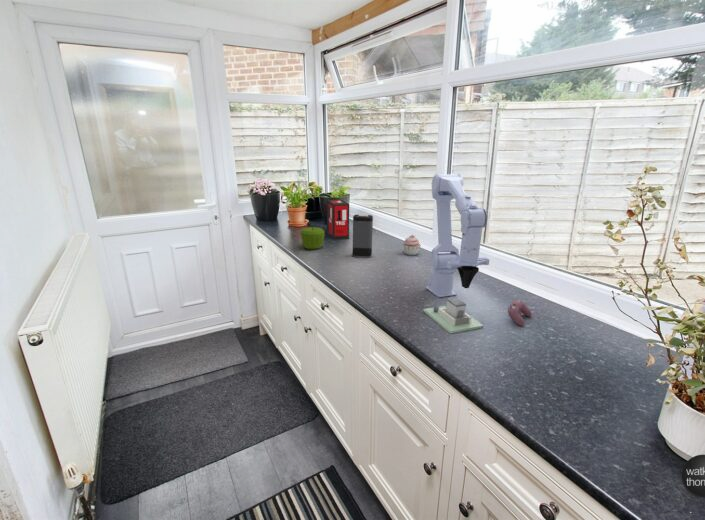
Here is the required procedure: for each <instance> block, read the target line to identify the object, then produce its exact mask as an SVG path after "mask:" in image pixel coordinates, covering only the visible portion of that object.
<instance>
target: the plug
mask: <svg viewBox="0 0 705 520" xmlns="http://www.w3.org/2000/svg"><path fill="white" fill-rule="evenodd" d="M466 305H467V304H466V302H464V301H462V300H461V299H459V298H458V297H453V298H452V297H451V298H447V299H446V305H445V306H446V313H448V314H449V315H450V316H452V317H453V318H460V317H464V315H465V313H466V307H467V306H466Z"/></svg>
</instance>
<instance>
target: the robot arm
mask: <svg viewBox="0 0 705 520" xmlns="http://www.w3.org/2000/svg"><path fill="white" fill-rule="evenodd" d="M463 186H464V178H463V176H462V175H461V173H458V174H454V173H451V174H442V173H441V174H439V173H436V174H434V175H433V176H432V181H431V195H432V199H434V200H435V202H436V215H437V216H436V217H437V218H436V219H437V239H438V242H437V243H438V244H437V245H436V246H435V247H434V248H433V249H431V252H430V253H431V254H430V261H429V262H430V266H431V269H430V271H429V275H428V285H427V286H426V289H427V290H428V291H430V292H431V293H432V294H434V295H435V296H436V297H438V298H445V297H450V296H457V295H458V294H457V292H455V291H454V290H453V288H454V287H453V286H454V280H455V279H454V278H455V273H456V272H457V271H458V273H459V276H460V282H461V287H462V288H464V289H469V288H470V285H471V284H472V282H473V279H474V277H475V276H476V275H477V274H478V273H479V271H480V270H479V269H480V268H479V266H483V265H484V266H488V265H489V266H490V259H489V258H488V257H480V256H479V255H480V249H481V241H482V235H483V233H482V232H483V228H484V229H485V227H486V226H487V223H488V214H487V213H488V212H487V211H486V208H481V207H478V205H477V203H476V201H475V200H474V198H473V197H472V196H471V195H470V194H467V193H466V191H465V189H464V187H463ZM454 199H455V203H454V206H455V208H456V210H457V211H458V213H459V215H460V227H461V228H460V231H461V241H460V251H459V248H458V247H457V246H455V245H454V244H453V235H452V233H453V232H452V215H451V214H452V213H451V202H452V200H454Z"/></svg>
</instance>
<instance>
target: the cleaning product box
mask: <svg viewBox="0 0 705 520" xmlns="http://www.w3.org/2000/svg"><path fill="white" fill-rule="evenodd" d="M326 233H327V235H328V236H329V237H331V238H332V239H333V241H335V240H338V241H339V240H349V239H350V204H349V202H347V201H345V200H342V199H326Z"/></svg>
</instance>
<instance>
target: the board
mask: <svg viewBox="0 0 705 520" xmlns="http://www.w3.org/2000/svg"><path fill="white" fill-rule="evenodd" d="M446 306H447V305H441V306H438V305H434V306H432V307H428V308H423V312H424V313H425V314H426V315H427V316H428V317H430V318H431V319H432V320H433V321H434V322H436V323H437V325H439V326H440V327H442V328H443V329H444V330H445V331H446V332H448V334H451V335H452V334H455V333H461V332H466V331H472V330H478V329H483V328H484V324H482V323H480V321H478V320H477V319H475V318H474V317H472V316H471V315H469V314H468V313H467V312H465V315H464V317H460V318H453V317H452V316H450V315H449V314H448V313H446Z"/></svg>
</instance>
